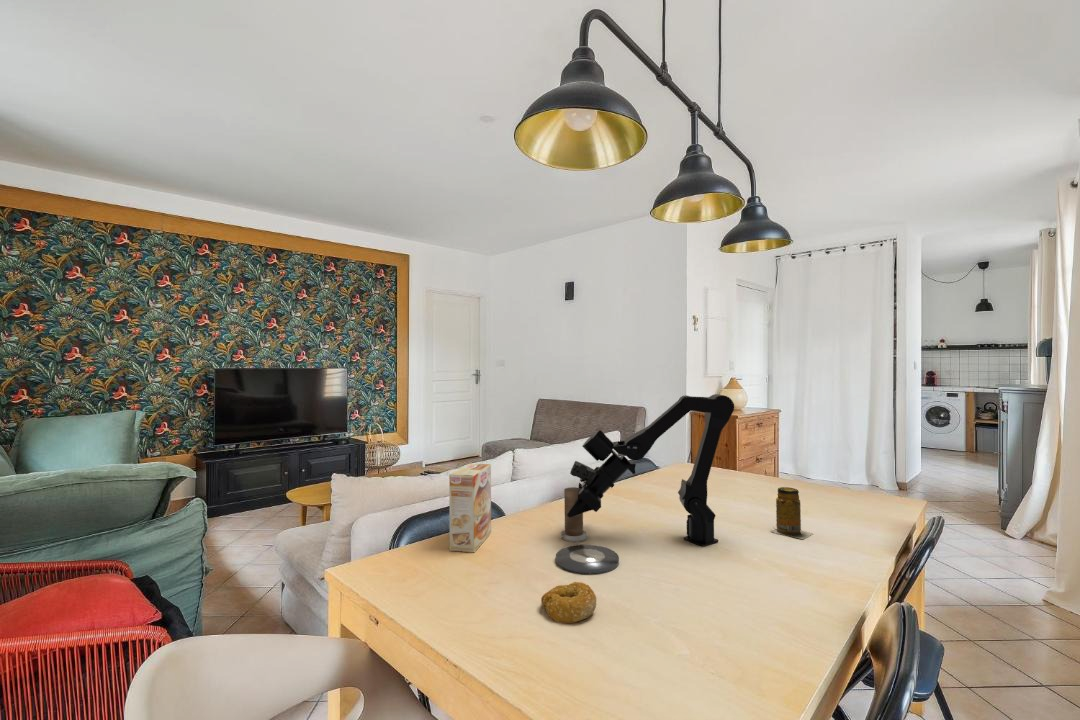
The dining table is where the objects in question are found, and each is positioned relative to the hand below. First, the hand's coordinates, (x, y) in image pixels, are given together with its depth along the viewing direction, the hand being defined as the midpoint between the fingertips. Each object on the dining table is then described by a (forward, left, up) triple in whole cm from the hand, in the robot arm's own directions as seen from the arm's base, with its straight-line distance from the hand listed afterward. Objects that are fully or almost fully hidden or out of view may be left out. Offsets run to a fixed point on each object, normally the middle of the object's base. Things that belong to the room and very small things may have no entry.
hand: (568, 513), depth 133 cm
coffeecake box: (+11, +24, -7) cm, 27 cm away
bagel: (-33, +22, -7) cm, 40 cm away
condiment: (-30, -54, -7) cm, 62 cm away
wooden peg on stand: (-1, -1, -7) cm, 7 cm away
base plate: (-16, +5, -7) cm, 18 cm away
